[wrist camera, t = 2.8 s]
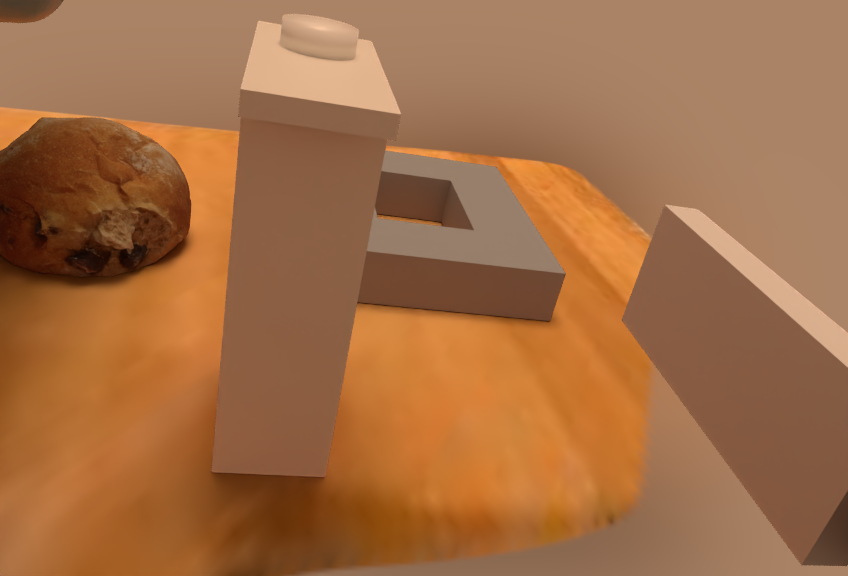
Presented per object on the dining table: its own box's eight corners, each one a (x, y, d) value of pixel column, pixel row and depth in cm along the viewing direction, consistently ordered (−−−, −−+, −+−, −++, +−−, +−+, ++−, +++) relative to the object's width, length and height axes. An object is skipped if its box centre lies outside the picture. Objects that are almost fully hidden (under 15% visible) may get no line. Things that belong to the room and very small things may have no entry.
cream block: (206, 504, 24) (243, 55, 17) (229, 349, 32) (260, -4, 25) (326, 508, 25) (407, 83, 18) (320, 357, 33) (375, 18, 26)
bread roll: (193, 277, 44) (208, 144, 43) (167, 291, 34) (186, 119, 33) (15, 257, 42) (28, 117, 41) (-70, 265, 32) (-53, 81, 31)
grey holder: (293, 296, 37) (300, 243, 36) (295, 179, 51) (300, 138, 49) (549, 321, 40) (565, 273, 39) (486, 205, 54) (496, 166, 52)
